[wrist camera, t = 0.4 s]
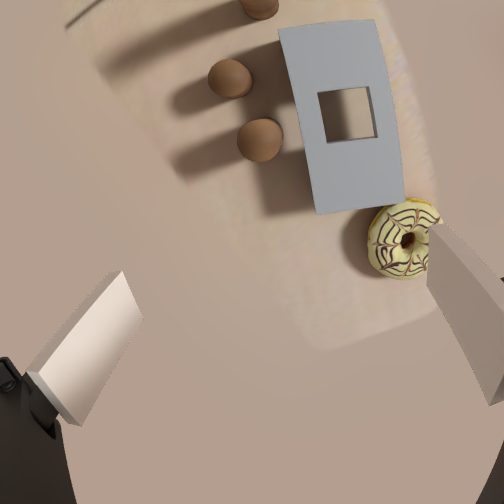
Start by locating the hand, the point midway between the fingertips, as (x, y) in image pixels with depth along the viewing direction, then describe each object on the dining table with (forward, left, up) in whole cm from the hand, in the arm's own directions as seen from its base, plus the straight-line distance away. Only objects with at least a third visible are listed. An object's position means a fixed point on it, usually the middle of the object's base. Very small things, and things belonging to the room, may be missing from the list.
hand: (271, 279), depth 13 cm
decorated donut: (+11, +13, -27) cm, 32 cm away
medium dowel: (-4, -2, -26) cm, 27 cm away
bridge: (-5, +7, -26) cm, 28 cm away
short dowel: (-11, -4, -26) cm, 29 cm away
